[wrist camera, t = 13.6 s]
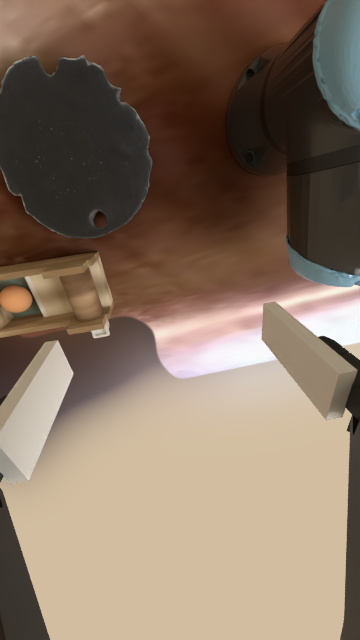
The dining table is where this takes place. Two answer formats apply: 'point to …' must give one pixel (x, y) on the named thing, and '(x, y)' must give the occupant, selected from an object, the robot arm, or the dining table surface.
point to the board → (72, 146)
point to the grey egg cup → (101, 331)
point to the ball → (15, 299)
